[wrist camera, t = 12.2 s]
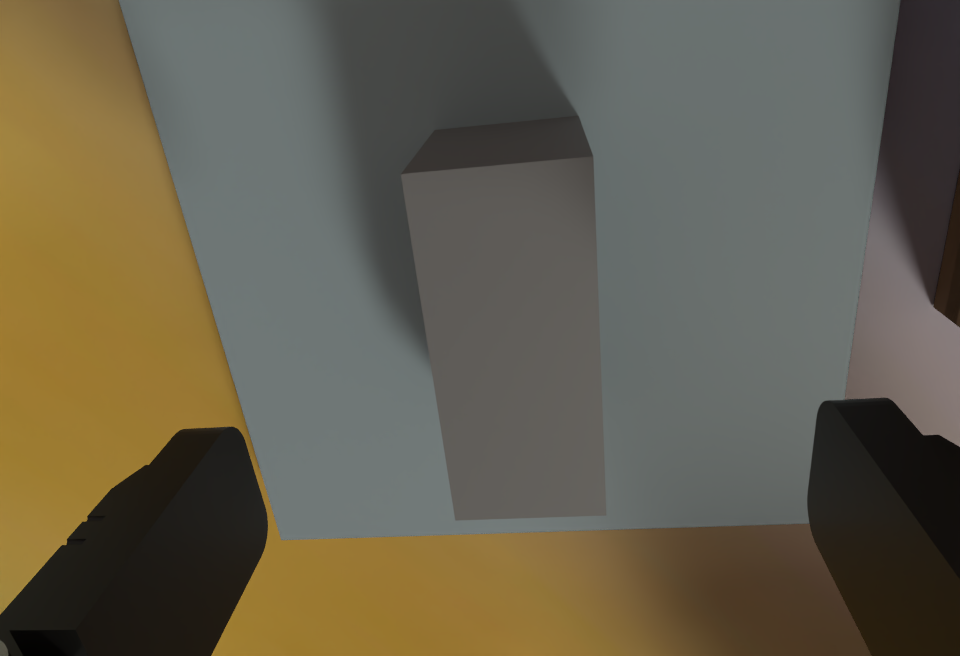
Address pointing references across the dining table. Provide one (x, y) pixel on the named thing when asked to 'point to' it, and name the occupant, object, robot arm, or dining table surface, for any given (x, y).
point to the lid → (526, 248)
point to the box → (951, 267)
